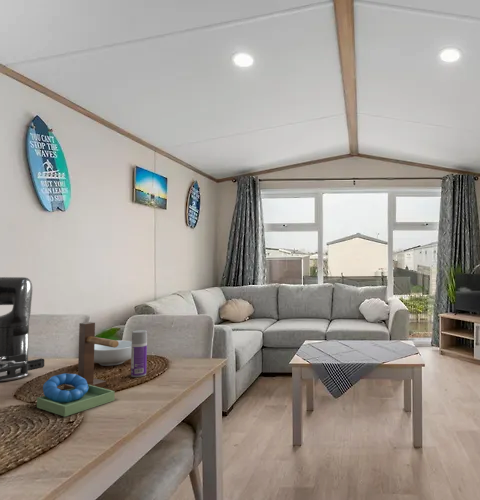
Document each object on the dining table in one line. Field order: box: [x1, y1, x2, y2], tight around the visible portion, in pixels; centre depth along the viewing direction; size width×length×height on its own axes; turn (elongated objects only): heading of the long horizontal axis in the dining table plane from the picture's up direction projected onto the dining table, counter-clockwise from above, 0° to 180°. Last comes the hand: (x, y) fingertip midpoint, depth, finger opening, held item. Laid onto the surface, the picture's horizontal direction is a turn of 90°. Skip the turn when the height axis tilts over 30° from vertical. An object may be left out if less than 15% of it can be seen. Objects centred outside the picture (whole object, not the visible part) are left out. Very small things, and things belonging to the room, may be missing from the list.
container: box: [130, 329, 148, 378], centre depth 135 cm, size 5×5×15 cm
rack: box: [63, 321, 119, 390], centre depth 120 cm, size 18×8×20 cm, turn 64°
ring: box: [42, 372, 88, 403], centre depth 111 cm, size 3×11×10 cm
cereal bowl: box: [94, 339, 132, 367], centre depth 149 cm, size 17×17×7 cm
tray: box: [36, 384, 116, 418], centre depth 108 cm, size 13×13×3 cm
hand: (34, 360), depth 99 cm, fingers open, 8 cm apart
